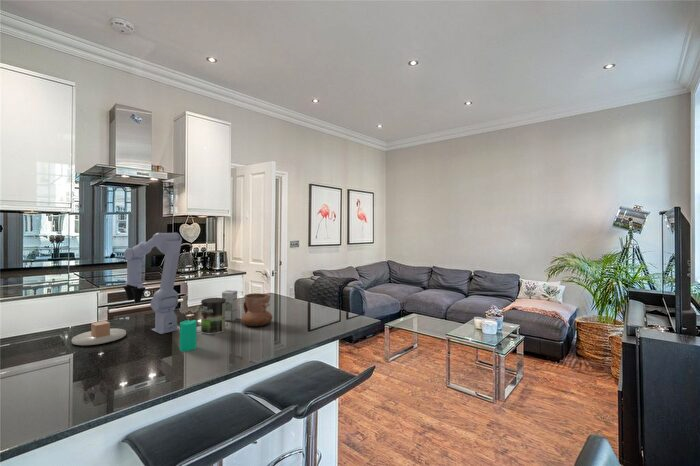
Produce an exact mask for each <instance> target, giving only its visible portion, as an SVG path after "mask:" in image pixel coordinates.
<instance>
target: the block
mask: <svg viewBox="0 0 700 466" xmlns="http://www.w3.org/2000/svg"><path fill="white" fill-rule="evenodd" d="M90 329H91V330H90V331H91V336H93V337H95V338H98V337H102V336H107V335H110V329H111V323H110V322H109V321H107V320H102V321H101V320H100V321H97V322H91V324H90Z"/></svg>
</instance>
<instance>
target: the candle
mask: <svg viewBox="0 0 700 466" xmlns="http://www.w3.org/2000/svg"><path fill="white" fill-rule="evenodd" d="M197 321H198V320H196V319H192V320H190V319H189V317H188V318H187V319H186V320H183V321H180V322H179V351H180V350H181V351H180V352H185V351H186V352H191V351H190V350H192V351H194V350H193V349H195V348H196V349H197V324H198V323H197ZM196 349H195V350H196Z"/></svg>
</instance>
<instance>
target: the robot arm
mask: <svg viewBox="0 0 700 466" xmlns="http://www.w3.org/2000/svg"><path fill="white" fill-rule="evenodd" d="M182 243H183V239H182V237H181V235H180V234H179V233H178V232H156V233H155V234H153V235H152V237H151V238H150V239H148V241H140V242H139V243H138V244H136V245H134V246H133V247H132V248H131V247H127V248H126V249H125V250H124V259H125V260H126V280H125V282H124V283H123V286H122V287H123V289H124V291H125V293H126V297H127V300H128V301H133V300H134V303H135V304H137V303H141V301H142V296H143V295H144V292H145V290H146V287H144V283H143V282H142V264H143V260H144V258H145V256H147V254H150V253H151V251H152V249H153V248H155V247H156V249H157V250H159V252H160V253H161V254H163V255H165V256H164V261H163V266H162V274H161V279H160V285H159V289H158V290H157V291H155V292H154V293H153V296H152V298H151V301H150V308H151V309H152V310H153V312H154V314H155V315H154V316H155V320H154V321H155V326H154V327H153V328H151V331H154V332H155V333H158V334H160V335H164V334H166V333H167V334H168V333H171V332H175V331H176V332H177V331H180V327H179V328H178V316H177V314H176V313H175V311H174V310H175V309H176V307H177V306H178V304H179V299H178V297H179V294H178V292H177V291H176V290H175V289H174V287H175V280H176V276H177V275H176V274H177V270H178V265H179V264H178V263H179V258H180V252H181V248H182Z"/></svg>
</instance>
